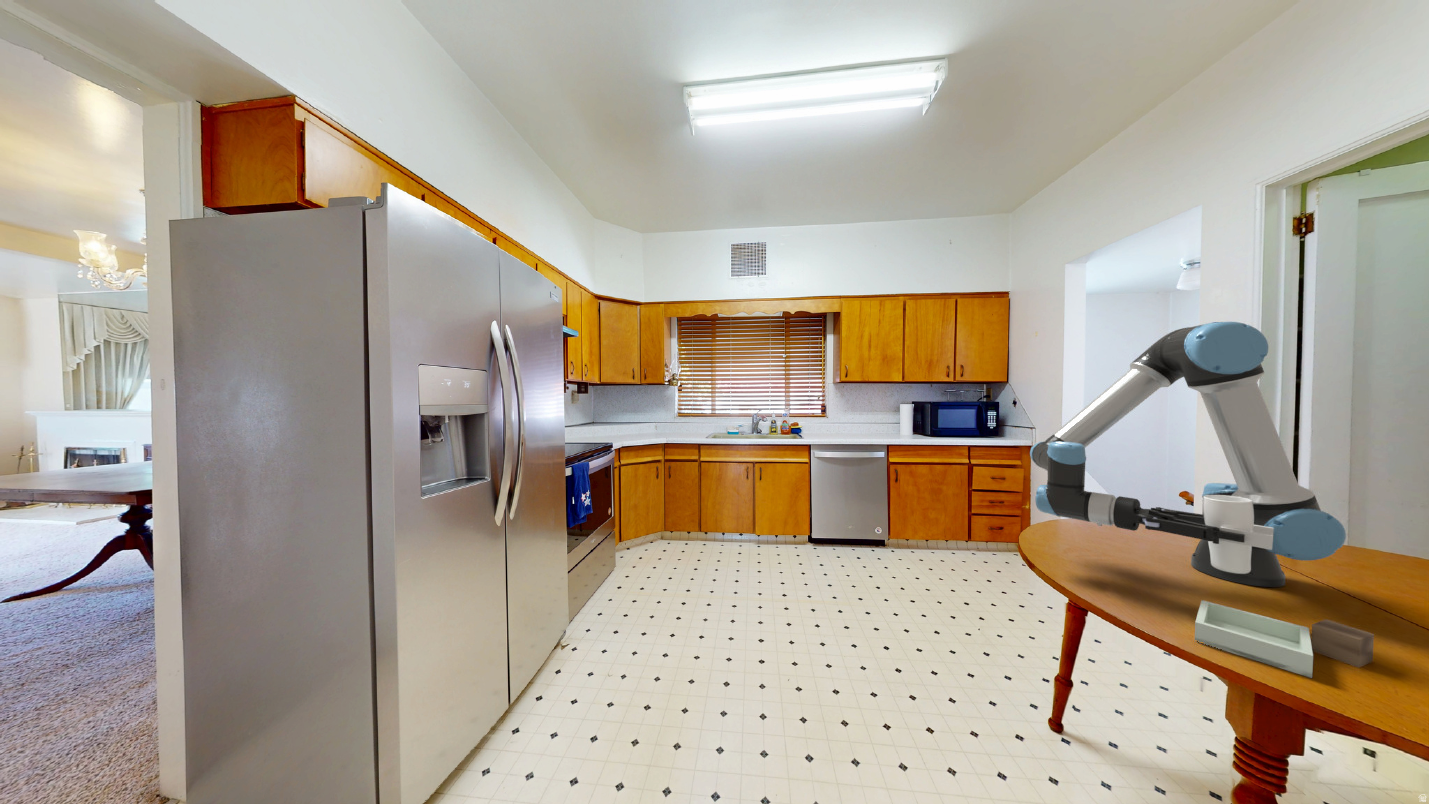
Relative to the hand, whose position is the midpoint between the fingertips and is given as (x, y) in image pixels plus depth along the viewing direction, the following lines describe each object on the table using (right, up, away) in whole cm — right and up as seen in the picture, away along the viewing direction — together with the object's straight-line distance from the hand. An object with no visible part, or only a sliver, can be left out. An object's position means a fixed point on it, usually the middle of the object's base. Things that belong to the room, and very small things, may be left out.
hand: (1272, 538), depth 84 cm
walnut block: (+2, -19, -8) cm, 20 cm away
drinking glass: (-3, -8, +4) cm, 10 cm away
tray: (-10, -19, -5) cm, 22 cm away
